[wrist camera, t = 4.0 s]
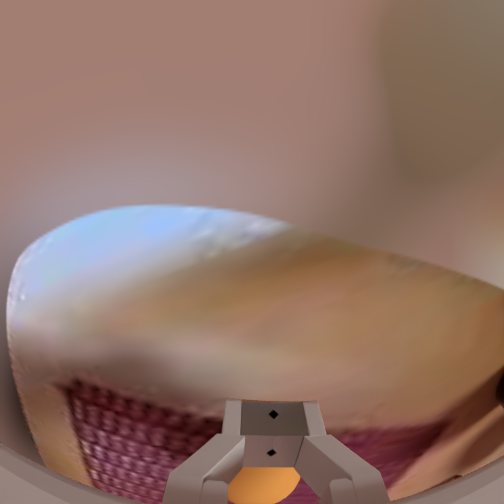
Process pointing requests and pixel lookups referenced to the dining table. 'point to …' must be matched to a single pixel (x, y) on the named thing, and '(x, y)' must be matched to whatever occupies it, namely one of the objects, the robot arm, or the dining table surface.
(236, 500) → the ball
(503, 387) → the supplement bottle
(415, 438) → the dining table surface
